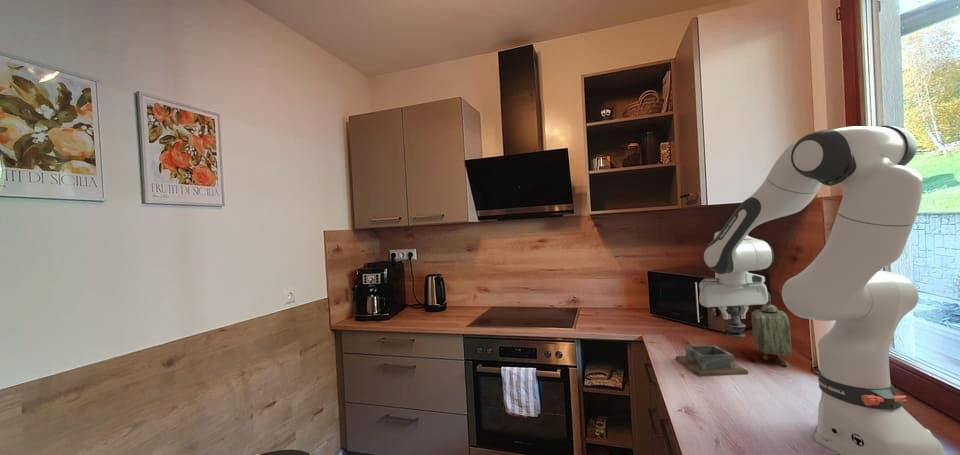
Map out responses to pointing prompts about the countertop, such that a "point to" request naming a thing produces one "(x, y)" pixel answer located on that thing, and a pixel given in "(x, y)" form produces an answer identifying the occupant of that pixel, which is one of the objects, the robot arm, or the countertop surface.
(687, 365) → the socket caddy
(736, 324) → the grey chess piece
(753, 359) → the countertop surface
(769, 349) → the green tall textured piece
